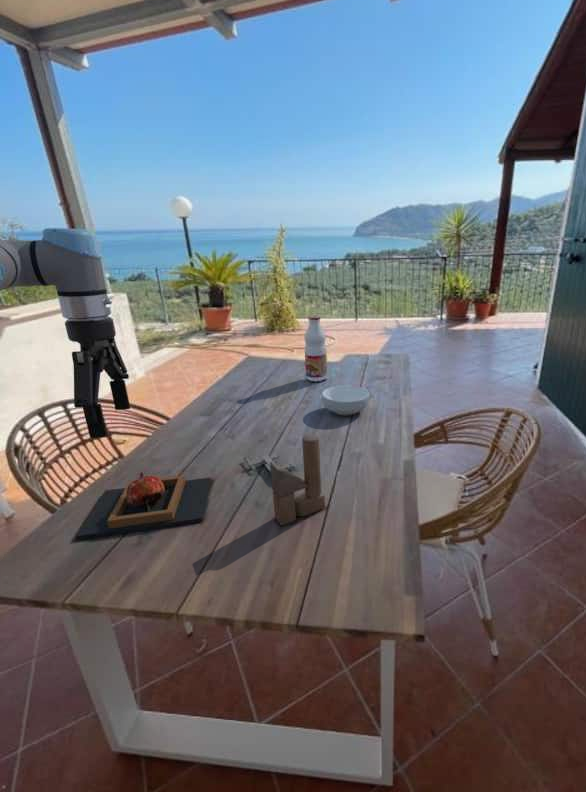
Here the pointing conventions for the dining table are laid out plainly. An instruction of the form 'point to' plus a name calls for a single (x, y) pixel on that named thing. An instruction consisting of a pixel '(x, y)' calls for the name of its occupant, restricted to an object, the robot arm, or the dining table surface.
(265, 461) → the clamp
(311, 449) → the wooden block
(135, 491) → the red round lump
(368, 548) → the dining table surface
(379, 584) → the dining table surface
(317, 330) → the fruit juice
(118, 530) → the back pad
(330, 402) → the cereal bowl
